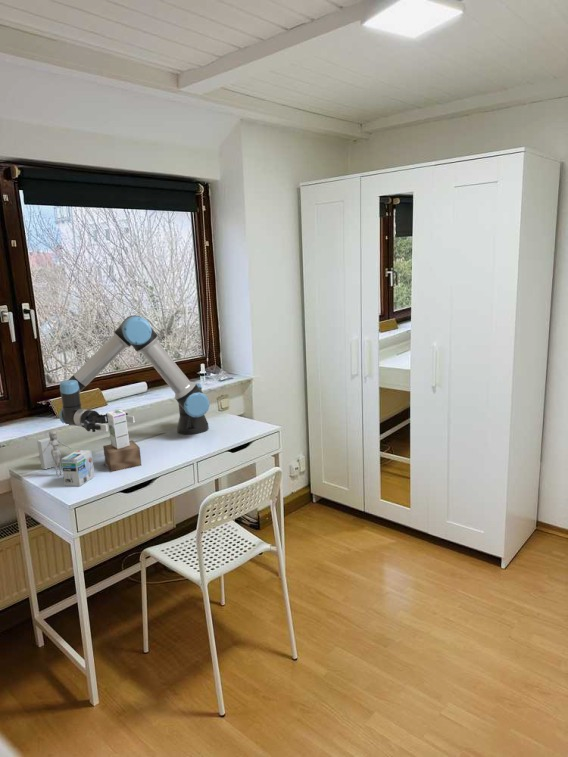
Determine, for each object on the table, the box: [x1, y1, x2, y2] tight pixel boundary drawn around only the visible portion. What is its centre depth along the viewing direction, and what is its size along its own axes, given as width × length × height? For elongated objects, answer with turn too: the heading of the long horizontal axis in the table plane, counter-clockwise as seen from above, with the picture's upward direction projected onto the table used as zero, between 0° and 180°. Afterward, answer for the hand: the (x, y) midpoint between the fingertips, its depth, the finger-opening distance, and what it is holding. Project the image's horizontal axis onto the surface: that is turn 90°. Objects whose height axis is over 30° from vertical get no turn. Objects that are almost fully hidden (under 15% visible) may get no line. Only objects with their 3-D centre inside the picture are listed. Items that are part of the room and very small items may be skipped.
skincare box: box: [36, 436, 59, 470], centre depth 233 cm, size 6×4×12 cm
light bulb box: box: [60, 449, 96, 487], centre depth 214 cm, size 11×7×11 cm, turn 168°
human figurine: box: [39, 430, 72, 477], centre depth 222 cm, size 12×4×18 cm, turn 131°
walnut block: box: [102, 440, 142, 473], centre depth 230 cm, size 12×12×8 cm
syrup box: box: [107, 409, 130, 449], centre depth 228 cm, size 6×6×14 cm
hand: (120, 423), depth 227 cm, fingers open, 13 cm apart
